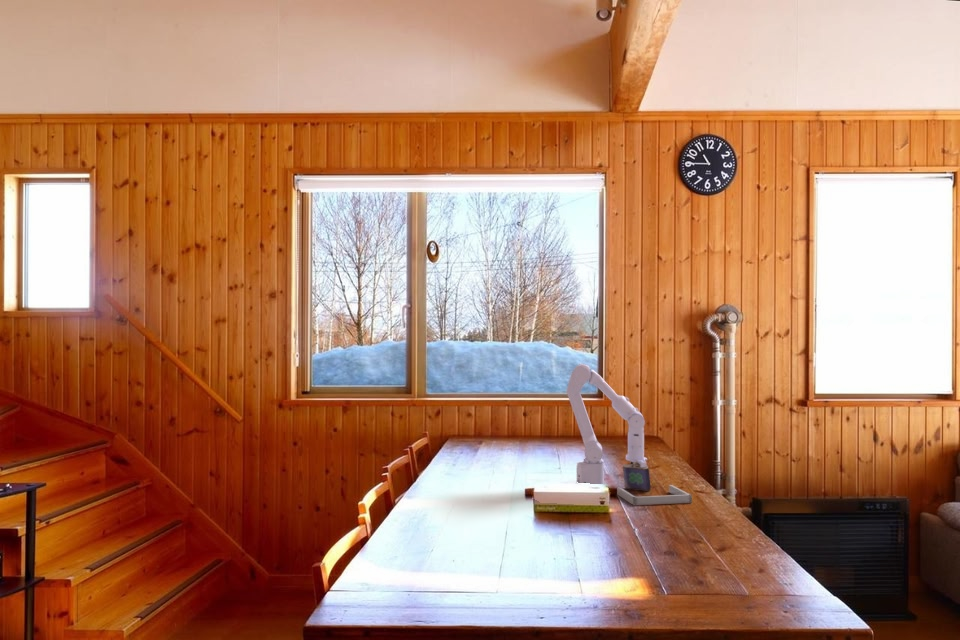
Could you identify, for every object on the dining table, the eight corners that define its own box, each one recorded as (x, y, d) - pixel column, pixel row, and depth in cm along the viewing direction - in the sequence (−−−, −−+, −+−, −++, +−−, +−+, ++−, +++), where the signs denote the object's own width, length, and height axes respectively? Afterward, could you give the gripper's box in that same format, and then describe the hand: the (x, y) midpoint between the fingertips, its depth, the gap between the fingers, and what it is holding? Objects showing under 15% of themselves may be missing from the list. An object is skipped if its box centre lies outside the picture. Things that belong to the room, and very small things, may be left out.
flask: (623, 488, 261) (621, 462, 258) (625, 484, 264) (623, 458, 260) (650, 491, 257) (647, 464, 254) (651, 487, 260) (649, 460, 256)
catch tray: (633, 505, 238) (633, 497, 238) (617, 494, 253) (617, 487, 253) (691, 502, 242) (691, 495, 242) (671, 492, 256) (671, 484, 256)
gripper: (654, 449, 256) (654, 488, 256) (638, 442, 271) (638, 479, 271) (635, 449, 255) (635, 488, 255) (620, 442, 269) (620, 479, 269)
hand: (635, 483), depth 263 cm, fingers closed
